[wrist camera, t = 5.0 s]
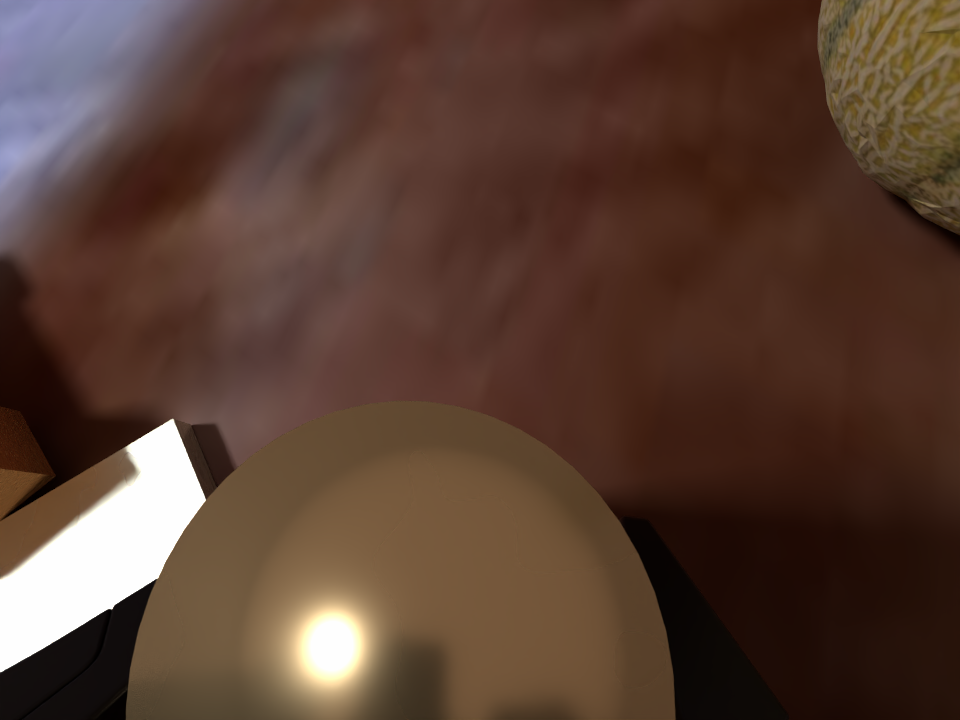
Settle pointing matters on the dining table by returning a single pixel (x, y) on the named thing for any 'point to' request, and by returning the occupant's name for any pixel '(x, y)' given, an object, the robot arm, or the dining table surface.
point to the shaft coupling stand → (88, 529)
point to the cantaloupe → (898, 96)
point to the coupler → (403, 584)
